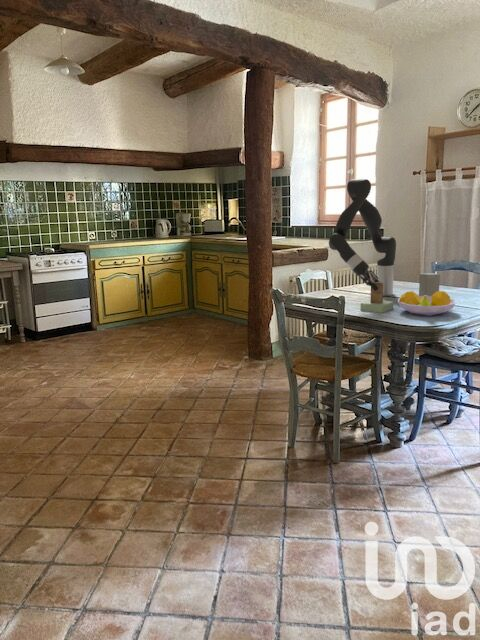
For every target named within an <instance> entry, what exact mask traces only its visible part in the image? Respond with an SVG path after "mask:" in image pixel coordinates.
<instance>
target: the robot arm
mask: <svg viewBox="0 0 480 640" xmlns="http://www.w3.org/2000/svg"><path fill="white" fill-rule="evenodd" d="M371 189H372V184H371V182H370V180H369V179H366V178H352V179H350V180H349V181H348V182H347V185H346V190H347V193H348V196H349V197H350V199H351V200H352V202H351V203H350V204H349V205H348V206H347V207H346V208H345V209H344V210H343V211H342V212H341V214H340V215H339V218H338V219H337V221H336V224H335V227H334V230H333V232H332V234H331V235H330V237H329V239H328V246H329V248H330V249H331V250H333V251H337V252H338V254H339V256H340V258H341V259H342V260H343V261H344V262H345V263H346V265H347V266H348V268H350V270H351V271H352V272H353V273H354V274H355V275H356V276H357V277H359V278H360V279H361V280H362V281H363V282H364V283H365V285H366V286H369V287H370V288H371V287H372V288H373V289H374V290H375V291H377V290H378V289H379V288H378V287H377V286H376V285H375V283H373V282H383V297H386V296H393V294H394V290H393V289H394V268H395V260H396V249H397V241H396V239H395V238H394V237H393V236H383V235H382V234H381V232H380V229H381V226H382V222H383V221H382V216H381V214H380V211H379V209H378V208H377V207H376V206H375V205H374V204H372V203H371V201H369V200H368V199H367V198H368V197H369V195H370V193H371ZM358 212H359V215H360V216H361V219H362V222H363V223H364V225H365V228H367V231H368V233H369V235H370V239H371V240H372V244H373V247H374V249H375V250H376V252H377V253H379V254H385V255H384V257H383V258H380V259H377V260H376V261H377V263H376V266H377V267H376V274H375V273H374V272H373V270H368V269H369V268H370V265H369V264H368V263H367V262H366V261H365V260H364V259H363V258H362V257H361V256H360V254H358V253H357V252H356V251H355V250H354V249H353V248H352V247H351V246H350V244H349V243H348V241H347V240H346V236H347V233H348V232H349V230H350V228H351V226H352V223H353V221H354V219H355V218H356V215H357V214H358Z"/></svg>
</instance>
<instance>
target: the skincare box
mask: <svg viewBox="0 0 480 640" xmlns="http://www.w3.org/2000/svg"><path fill="white" fill-rule="evenodd" d="M440 278H441V274H440V273H434V272H431V273H430V272H429V273H428V272H427V273H425V272H424V273H419V288H418V295H419V296H424V295H426V296H432V295H433V294H434V293H435V292H436V291H440V284H441V283H440V280H441V279H440Z"/></svg>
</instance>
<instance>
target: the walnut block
mask: <svg viewBox="0 0 480 640" xmlns="http://www.w3.org/2000/svg"><path fill="white" fill-rule="evenodd" d="M373 283H375V285H376V286H377V287H378V288H379V289H378V290H377V291H375V290H374V289H373V288H372V287H371V286H370V299H369V300H370V303H382V302H383V301H384V296H383V282H373Z"/></svg>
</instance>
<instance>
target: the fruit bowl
mask: <svg viewBox="0 0 480 640" xmlns="http://www.w3.org/2000/svg"><path fill="white" fill-rule="evenodd" d="M397 303H398V304H399V306H400V308H401V309H403V310H405V311H407V312H408V313H409V314H412V315H421V316H429V317H430V316H434V315H435V316H436V315H439V314H444V313H447V312H448V311H450V310H452V309H453V308H454V306H455V305H456V300H454V299H451V297H450V295H449V294H448V293H447V292H446V291H445V290H439V291H436V292H435V293H434V294H433V295H432V296H426V295H424V296H419V294H417V293H416V292H414V291H413V290H410V291H406V292H404V293H403V294H401V295H400V297H399V298H398V300H397Z"/></svg>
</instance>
